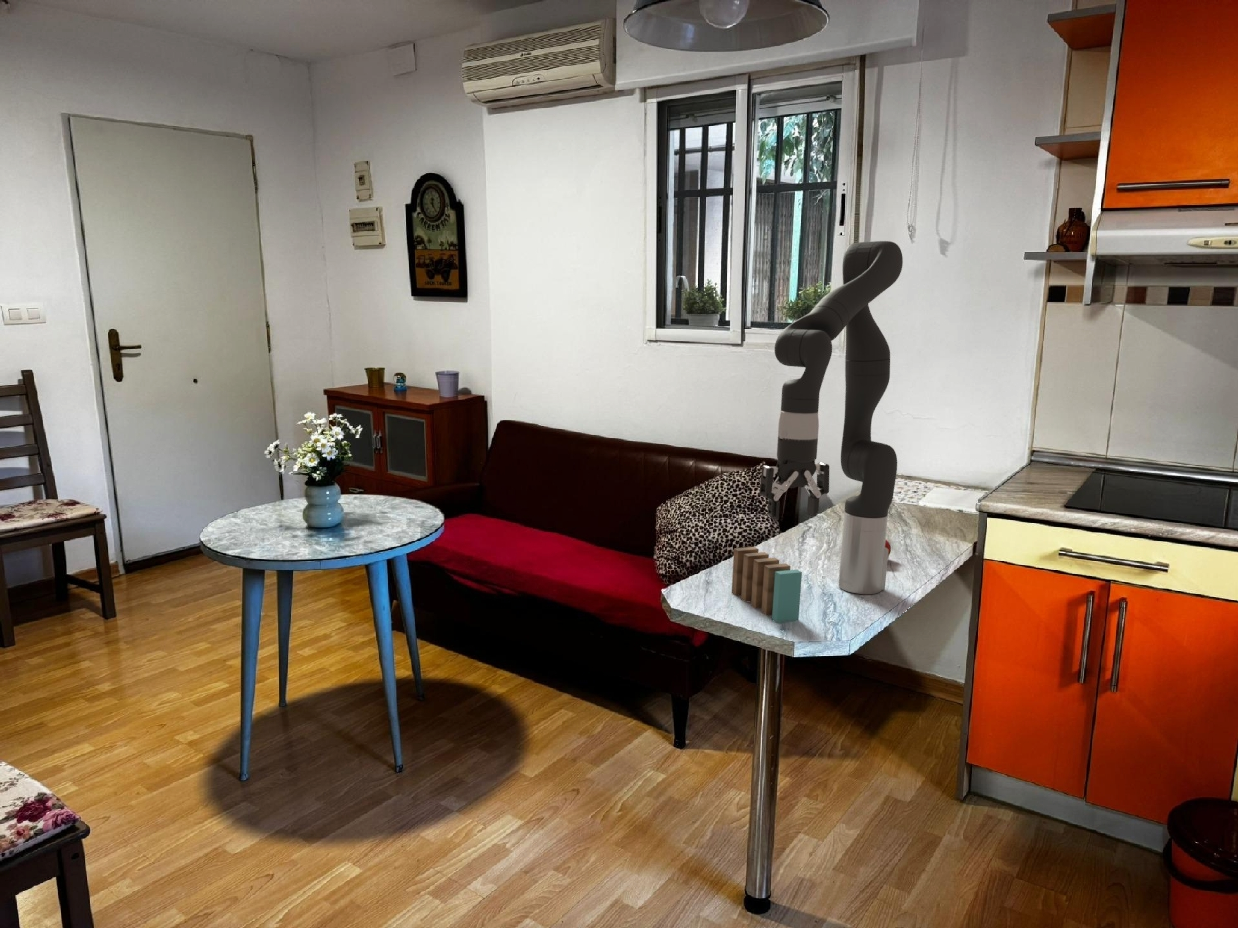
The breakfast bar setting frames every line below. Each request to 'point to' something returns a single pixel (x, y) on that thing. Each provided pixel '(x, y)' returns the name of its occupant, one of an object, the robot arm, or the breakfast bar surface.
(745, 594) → the domino
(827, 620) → the breakfast bar surface
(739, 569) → the domino
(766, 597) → the domino
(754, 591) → the domino
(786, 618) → the teal domino
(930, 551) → the breakfast bar surface
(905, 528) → the breakfast bar surface
